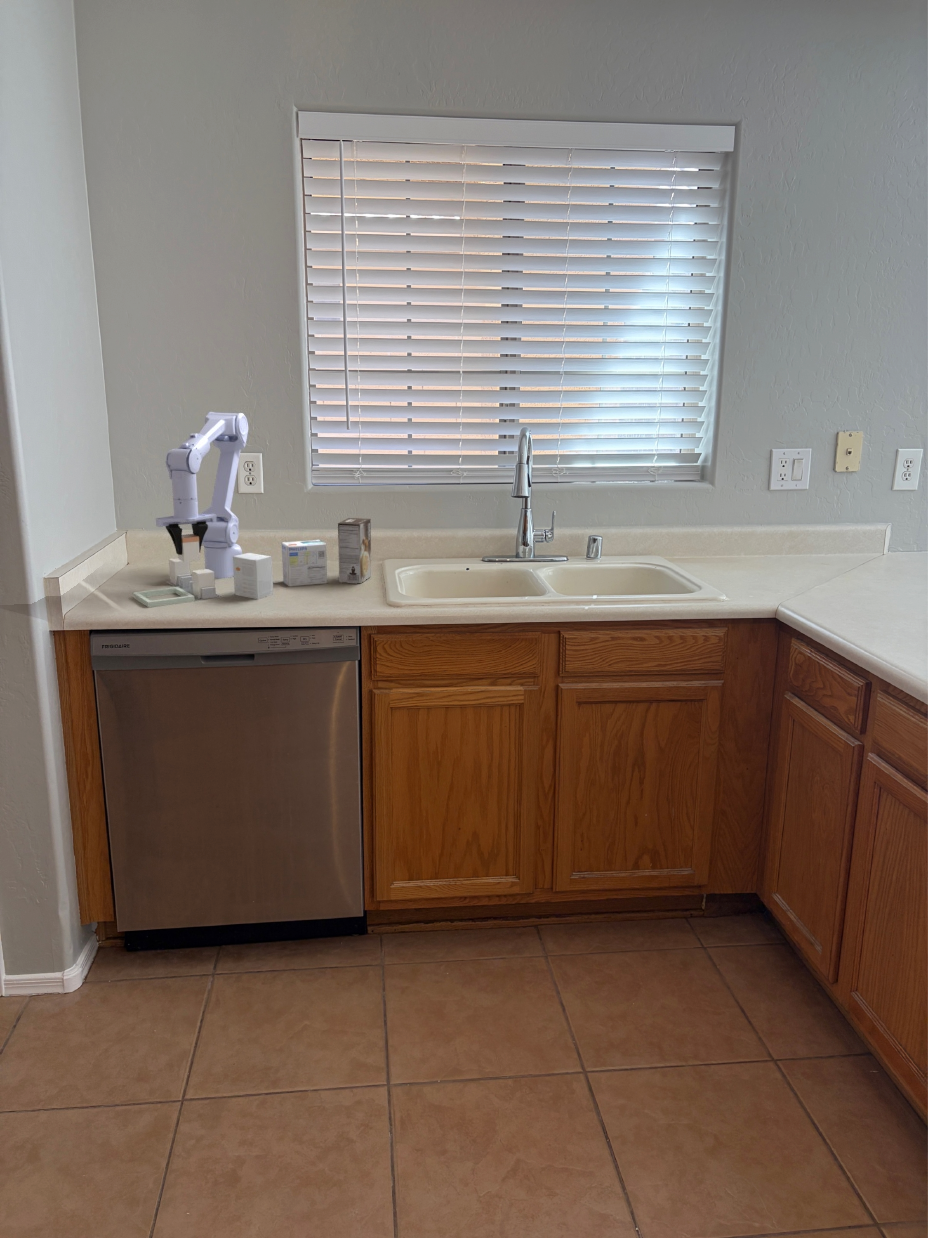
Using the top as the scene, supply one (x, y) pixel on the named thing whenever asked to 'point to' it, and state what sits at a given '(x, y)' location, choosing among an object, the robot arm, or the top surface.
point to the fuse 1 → (178, 569)
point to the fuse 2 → (202, 580)
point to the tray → (183, 599)
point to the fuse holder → (187, 585)
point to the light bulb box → (304, 562)
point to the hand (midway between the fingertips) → (188, 553)
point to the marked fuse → (190, 548)
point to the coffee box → (354, 550)
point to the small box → (253, 575)
